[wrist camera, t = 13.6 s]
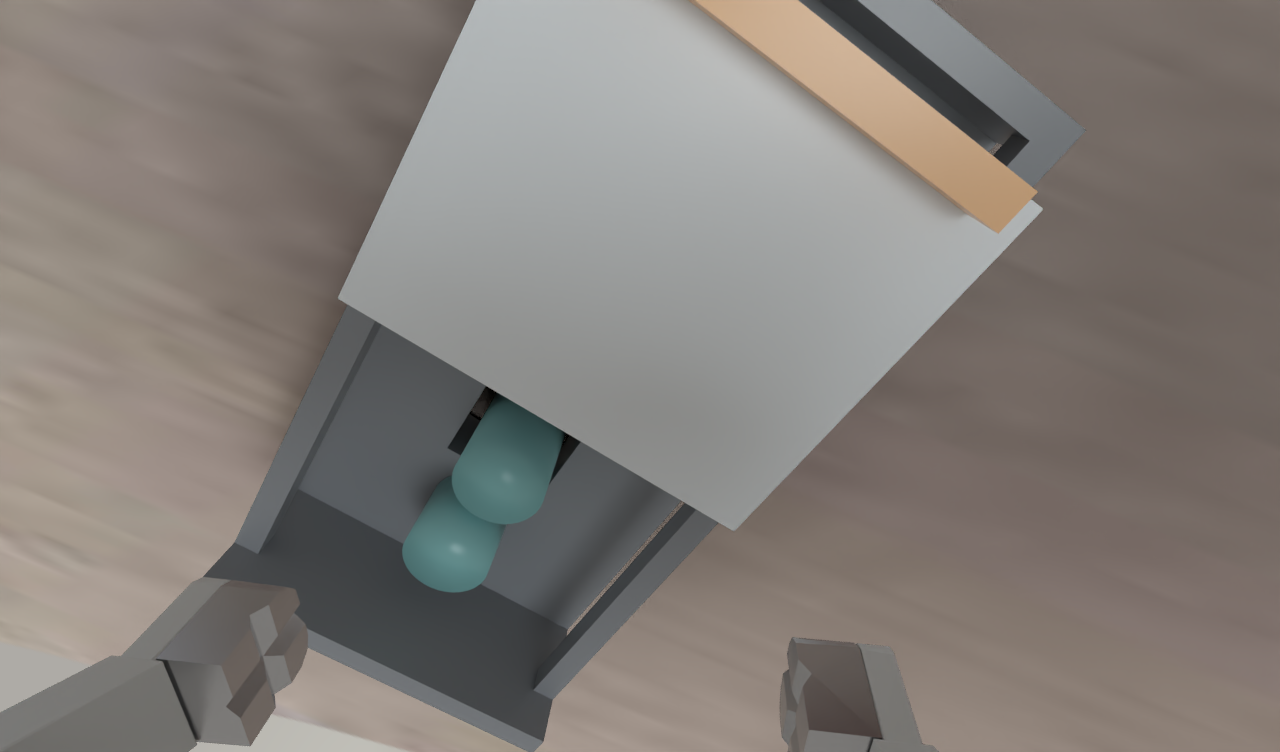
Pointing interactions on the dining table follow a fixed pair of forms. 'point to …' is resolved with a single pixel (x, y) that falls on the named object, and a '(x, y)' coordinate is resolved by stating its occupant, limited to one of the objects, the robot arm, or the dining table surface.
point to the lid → (679, 230)
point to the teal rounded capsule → (507, 463)
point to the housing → (580, 483)
